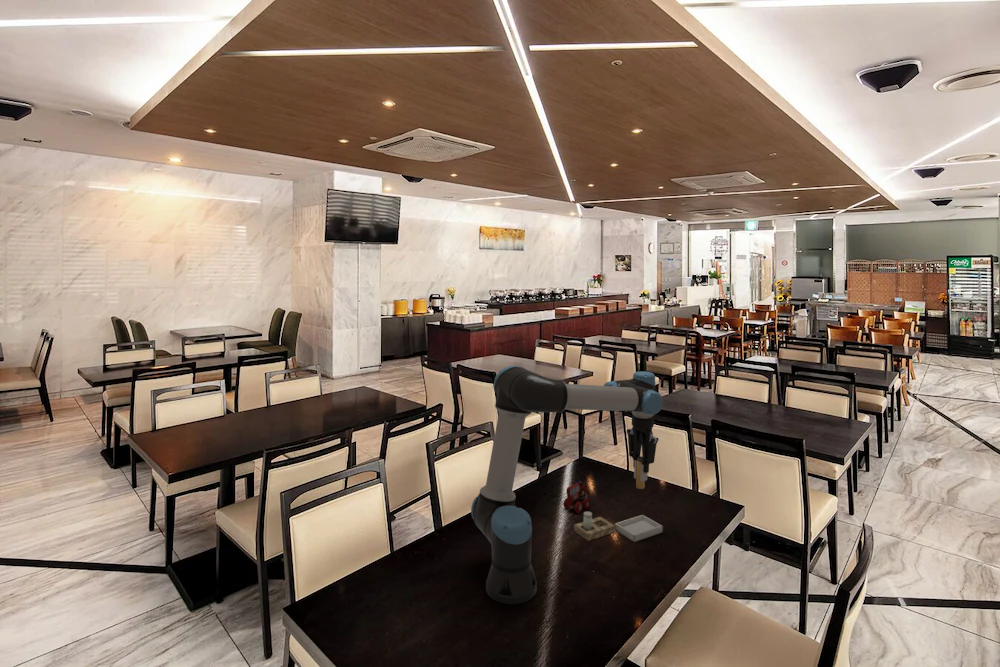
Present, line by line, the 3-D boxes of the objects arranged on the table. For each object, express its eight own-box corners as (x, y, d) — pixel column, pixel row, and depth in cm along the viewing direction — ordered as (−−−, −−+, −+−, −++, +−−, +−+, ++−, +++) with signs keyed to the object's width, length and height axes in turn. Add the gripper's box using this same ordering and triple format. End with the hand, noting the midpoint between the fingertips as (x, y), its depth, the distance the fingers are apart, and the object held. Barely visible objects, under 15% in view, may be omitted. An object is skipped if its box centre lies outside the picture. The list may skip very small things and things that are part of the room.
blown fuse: (640, 489, 184) (641, 459, 183) (634, 486, 187) (635, 457, 186) (646, 487, 186) (647, 458, 184) (640, 484, 188) (641, 455, 187)
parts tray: (634, 542, 181) (634, 535, 180) (614, 529, 189) (614, 523, 189) (662, 532, 188) (662, 525, 187) (642, 520, 196) (642, 514, 196)
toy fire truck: (593, 505, 208) (594, 481, 207) (574, 516, 200) (575, 490, 198) (579, 500, 213) (579, 476, 212) (560, 510, 205) (561, 485, 203)
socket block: (588, 541, 181) (588, 534, 181) (573, 531, 188) (574, 524, 188) (615, 532, 188) (615, 525, 187) (600, 522, 194) (600, 516, 194)
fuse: (586, 536, 184) (587, 516, 183) (581, 533, 187) (582, 512, 186) (593, 534, 186) (593, 514, 185) (588, 531, 188) (588, 510, 187)
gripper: (667, 419, 178) (664, 484, 181) (634, 408, 192) (632, 469, 195) (651, 422, 175) (649, 489, 178) (619, 411, 188) (617, 473, 191)
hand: (640, 478), depth 186 cm, fingers closed on blown fuse, 2 cm apart
